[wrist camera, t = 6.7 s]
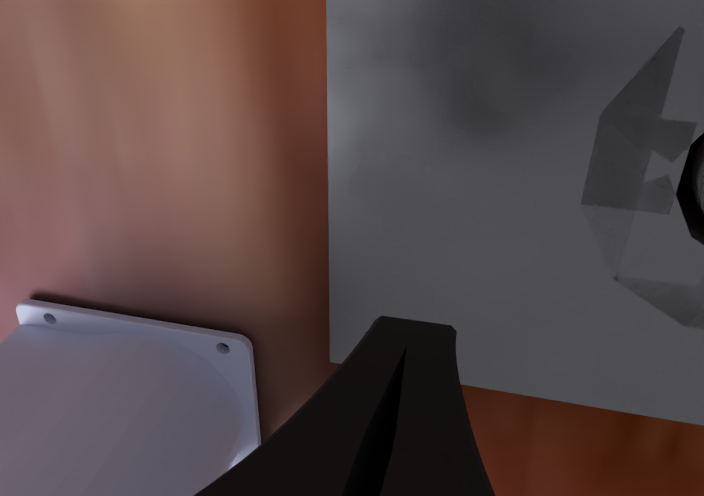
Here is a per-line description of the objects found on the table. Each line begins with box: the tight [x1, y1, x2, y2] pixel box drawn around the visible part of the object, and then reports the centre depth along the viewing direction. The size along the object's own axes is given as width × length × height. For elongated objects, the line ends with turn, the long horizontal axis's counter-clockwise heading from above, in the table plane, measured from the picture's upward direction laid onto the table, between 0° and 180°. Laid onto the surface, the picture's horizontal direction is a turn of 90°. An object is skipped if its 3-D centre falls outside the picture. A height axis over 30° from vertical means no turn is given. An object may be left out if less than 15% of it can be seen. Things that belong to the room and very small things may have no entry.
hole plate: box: [326, 0, 704, 426], centre depth 16 cm, size 15×15×2 cm
